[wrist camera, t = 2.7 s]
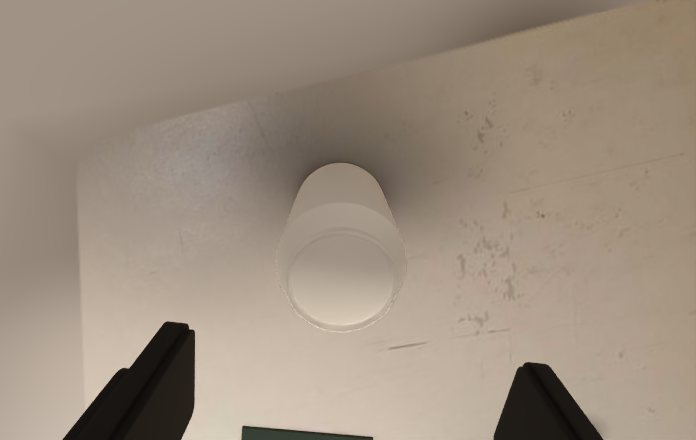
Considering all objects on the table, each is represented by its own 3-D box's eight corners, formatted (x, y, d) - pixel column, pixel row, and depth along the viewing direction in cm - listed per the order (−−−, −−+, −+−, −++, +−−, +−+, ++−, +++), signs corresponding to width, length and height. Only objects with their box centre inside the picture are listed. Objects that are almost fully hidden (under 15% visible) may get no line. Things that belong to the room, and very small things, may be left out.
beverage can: (397, 218, 28) (437, 309, 17) (323, 255, 29) (313, 365, 17) (359, 144, 26) (374, 188, 15) (281, 185, 27) (239, 257, 16)
